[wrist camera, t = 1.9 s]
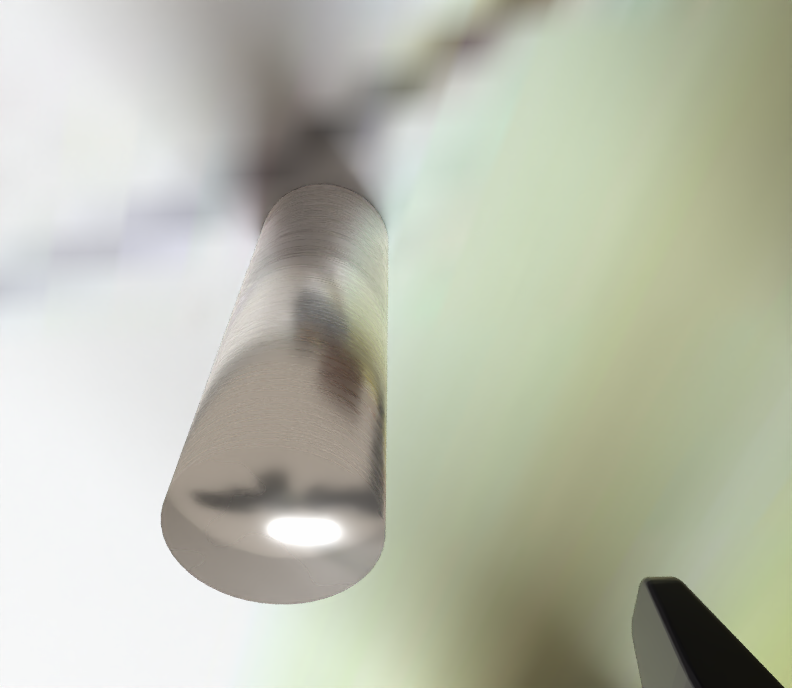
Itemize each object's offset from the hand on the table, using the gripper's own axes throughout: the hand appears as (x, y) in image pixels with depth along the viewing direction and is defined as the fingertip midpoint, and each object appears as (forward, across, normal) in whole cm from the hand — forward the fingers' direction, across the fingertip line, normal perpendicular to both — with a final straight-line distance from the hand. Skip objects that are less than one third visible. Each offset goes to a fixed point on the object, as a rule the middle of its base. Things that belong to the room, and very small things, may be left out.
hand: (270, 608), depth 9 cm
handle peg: (+10, 0, 0) cm, 10 cm away
